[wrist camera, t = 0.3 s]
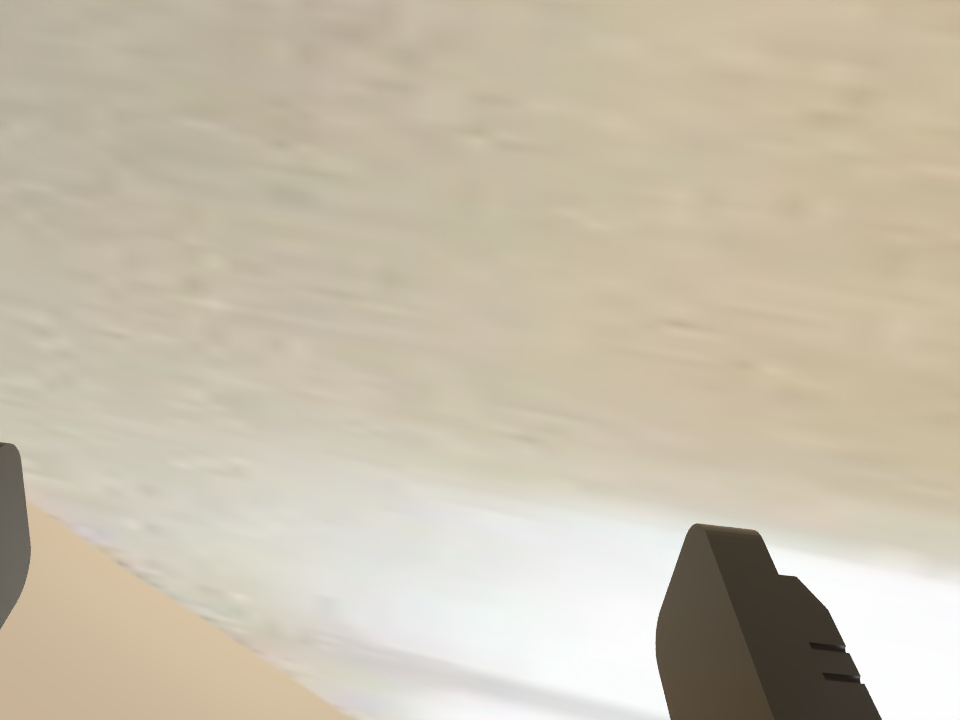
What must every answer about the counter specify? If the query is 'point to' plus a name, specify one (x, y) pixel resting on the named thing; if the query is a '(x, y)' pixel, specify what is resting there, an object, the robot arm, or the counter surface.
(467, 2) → the counter surface
